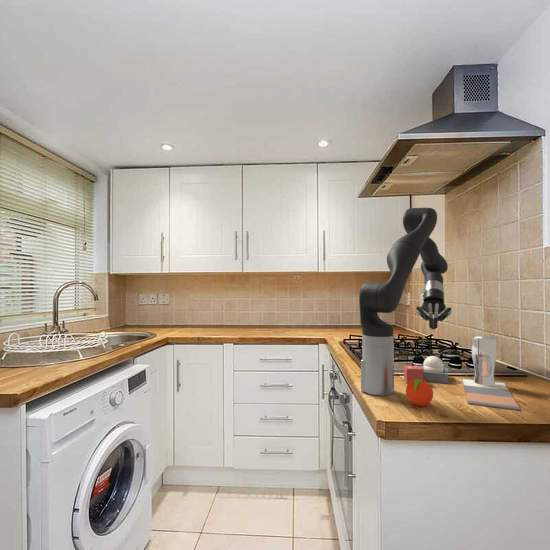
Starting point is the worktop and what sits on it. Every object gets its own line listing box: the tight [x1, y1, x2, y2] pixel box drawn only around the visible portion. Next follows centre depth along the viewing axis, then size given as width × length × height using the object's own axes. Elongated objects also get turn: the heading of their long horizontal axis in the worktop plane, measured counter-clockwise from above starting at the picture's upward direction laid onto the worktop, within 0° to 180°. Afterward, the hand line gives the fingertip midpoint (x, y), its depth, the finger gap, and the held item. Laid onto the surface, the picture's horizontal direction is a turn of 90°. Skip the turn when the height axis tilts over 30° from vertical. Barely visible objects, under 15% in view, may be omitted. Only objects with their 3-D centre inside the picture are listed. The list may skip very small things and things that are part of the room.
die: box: [403, 364, 423, 385], centre depth 117 cm, size 5×5×5 cm
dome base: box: [419, 365, 449, 384], centre depth 122 cm, size 9×9×3 cm
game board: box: [462, 377, 521, 411], centre depth 106 cm, size 12×28×1 cm, turn 155°
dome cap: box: [422, 355, 445, 373], centre depth 122 cm, size 6×6×6 cm
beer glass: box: [471, 335, 498, 387], centre depth 114 cm, size 7×7×15 cm
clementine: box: [405, 379, 434, 407], centre depth 95 cm, size 8×7×7 cm
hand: (433, 328), depth 131 cm, fingers closed
